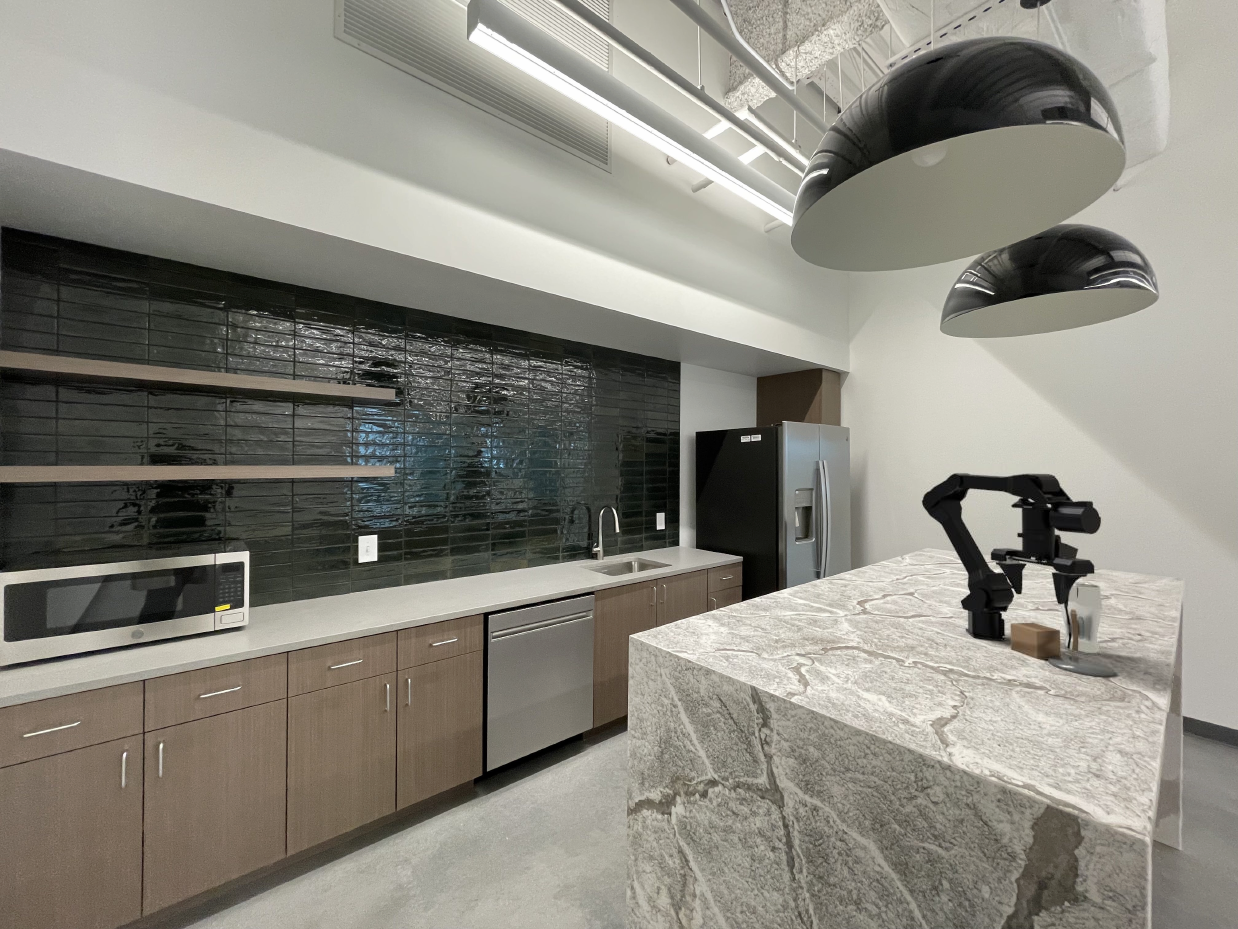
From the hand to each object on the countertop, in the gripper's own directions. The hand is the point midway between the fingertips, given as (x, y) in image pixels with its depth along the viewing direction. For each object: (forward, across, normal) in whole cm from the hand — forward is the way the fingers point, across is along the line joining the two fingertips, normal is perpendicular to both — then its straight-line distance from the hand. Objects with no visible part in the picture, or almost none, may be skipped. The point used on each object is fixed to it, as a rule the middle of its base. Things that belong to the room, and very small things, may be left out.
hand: (1039, 599), depth 111 cm
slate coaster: (+12, -9, 0) cm, 15 cm away
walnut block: (+12, 0, +1) cm, 12 cm away
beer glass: (+12, 0, -11) cm, 17 cm away
